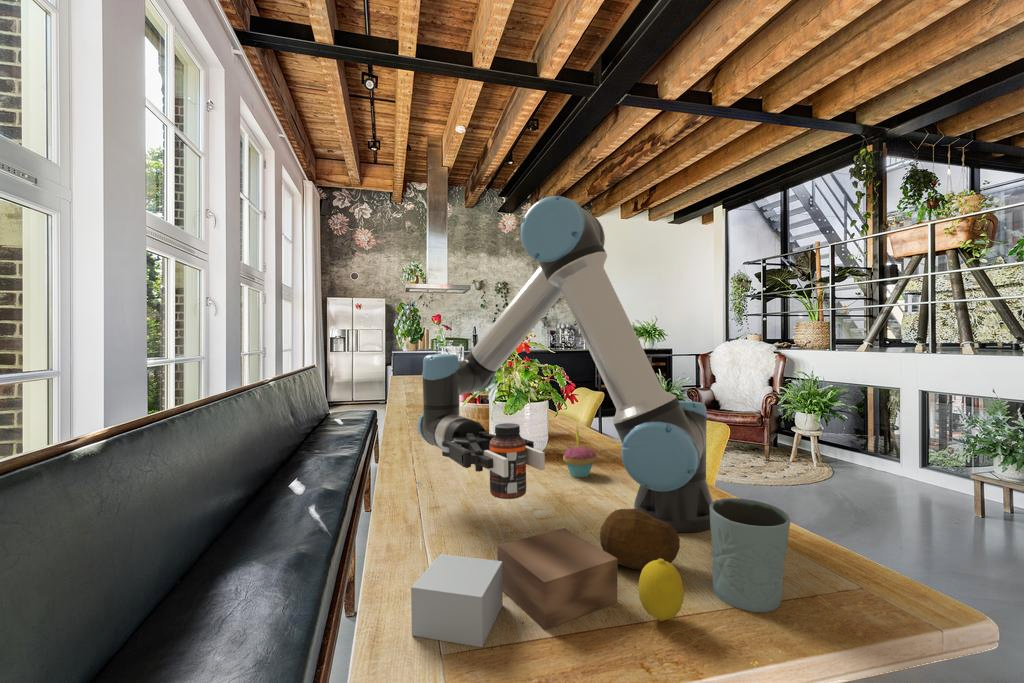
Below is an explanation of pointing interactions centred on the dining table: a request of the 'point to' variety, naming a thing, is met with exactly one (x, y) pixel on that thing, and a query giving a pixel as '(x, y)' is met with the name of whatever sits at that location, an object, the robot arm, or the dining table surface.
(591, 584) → the walnut block
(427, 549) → the dining table surface
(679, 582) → the lemon
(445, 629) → the grey block
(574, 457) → the cupcake
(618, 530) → the potato
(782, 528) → the grey green planter pot
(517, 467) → the supplement bottle
